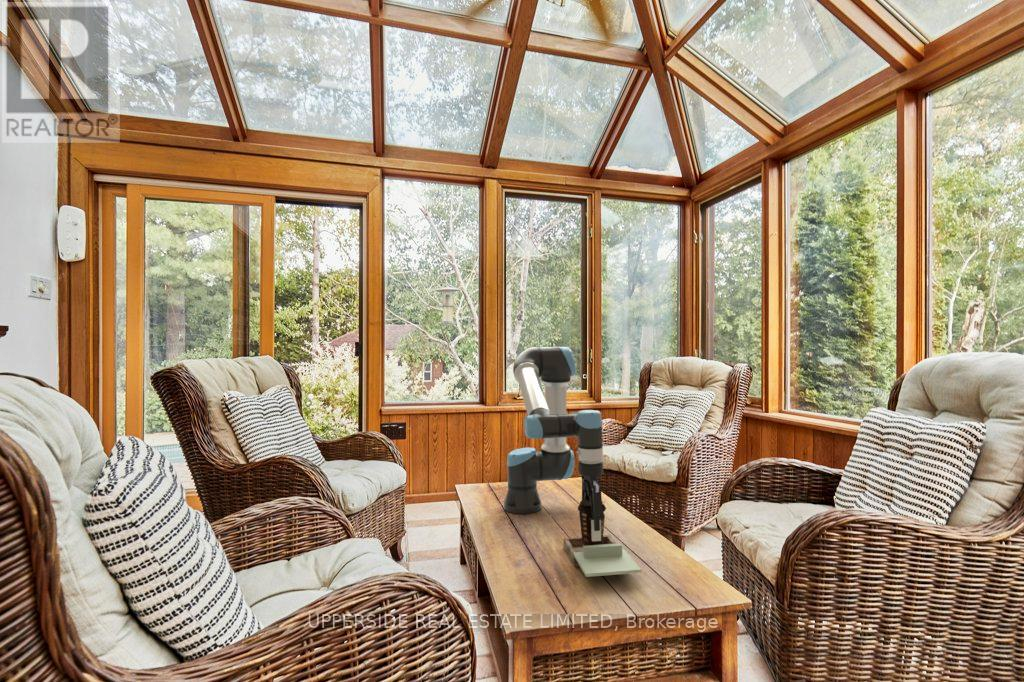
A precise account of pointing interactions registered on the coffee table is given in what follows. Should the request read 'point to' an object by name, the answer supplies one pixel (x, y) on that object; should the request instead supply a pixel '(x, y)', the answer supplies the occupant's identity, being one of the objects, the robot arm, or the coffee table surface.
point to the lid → (605, 560)
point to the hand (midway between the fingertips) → (592, 535)
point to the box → (580, 546)
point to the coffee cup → (589, 523)
